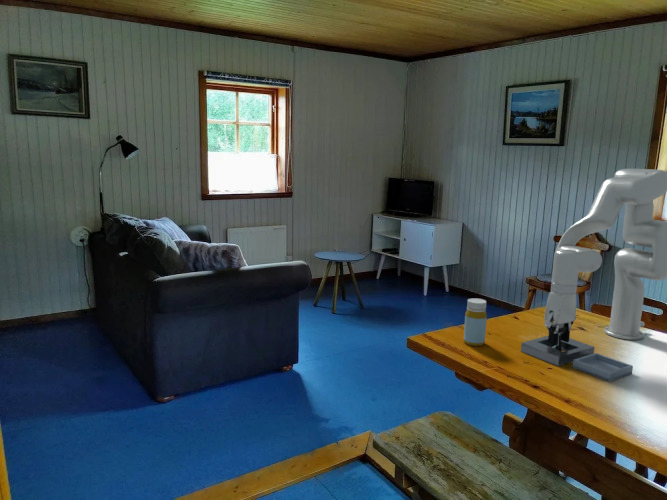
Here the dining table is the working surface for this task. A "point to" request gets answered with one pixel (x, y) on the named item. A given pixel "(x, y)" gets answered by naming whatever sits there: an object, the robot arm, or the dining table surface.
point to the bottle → (475, 322)
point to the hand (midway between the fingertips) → (558, 341)
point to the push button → (561, 329)
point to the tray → (602, 367)
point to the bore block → (554, 356)
